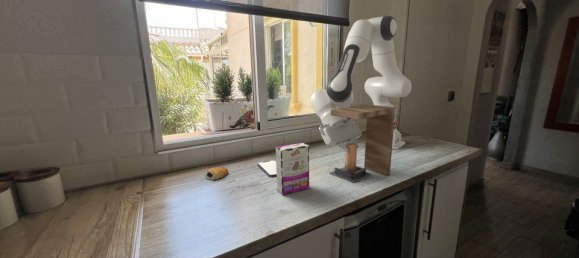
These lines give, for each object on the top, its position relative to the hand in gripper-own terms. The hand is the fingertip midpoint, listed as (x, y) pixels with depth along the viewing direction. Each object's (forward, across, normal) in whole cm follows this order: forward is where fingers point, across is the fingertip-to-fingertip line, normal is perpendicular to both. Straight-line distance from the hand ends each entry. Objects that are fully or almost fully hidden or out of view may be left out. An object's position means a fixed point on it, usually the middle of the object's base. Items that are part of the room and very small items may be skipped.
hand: (352, 150), depth 104 cm
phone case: (-11, -21, +27) cm, 36 cm away
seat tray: (+7, 0, +8) cm, 11 cm away
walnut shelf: (+11, 0, +4) cm, 12 cm away
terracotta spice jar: (+6, 0, +7) cm, 9 cm away
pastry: (-17, -43, +33) cm, 57 cm away
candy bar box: (+4, -27, +12) cm, 30 cm away
